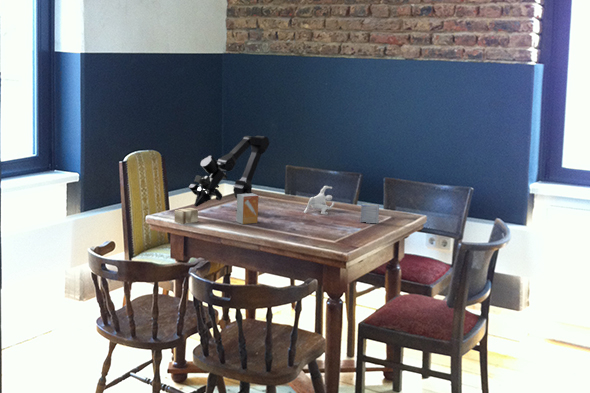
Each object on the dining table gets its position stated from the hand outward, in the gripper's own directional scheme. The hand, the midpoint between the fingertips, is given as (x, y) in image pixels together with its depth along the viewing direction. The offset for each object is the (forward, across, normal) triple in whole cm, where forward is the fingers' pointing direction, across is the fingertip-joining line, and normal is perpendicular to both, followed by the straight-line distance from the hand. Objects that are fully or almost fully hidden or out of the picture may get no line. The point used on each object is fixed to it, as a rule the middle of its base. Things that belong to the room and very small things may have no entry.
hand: (195, 206), depth 303 cm
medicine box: (-39, +54, +48) cm, 82 cm away
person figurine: (-39, +22, +49) cm, 67 cm away
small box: (-6, +18, +16) cm, 25 cm away
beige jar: (+3, 0, +2) cm, 4 cm away
